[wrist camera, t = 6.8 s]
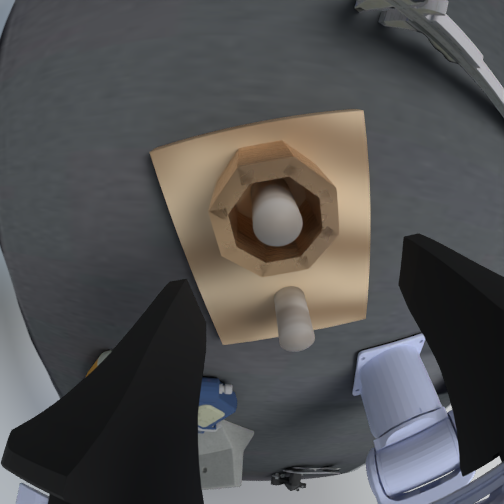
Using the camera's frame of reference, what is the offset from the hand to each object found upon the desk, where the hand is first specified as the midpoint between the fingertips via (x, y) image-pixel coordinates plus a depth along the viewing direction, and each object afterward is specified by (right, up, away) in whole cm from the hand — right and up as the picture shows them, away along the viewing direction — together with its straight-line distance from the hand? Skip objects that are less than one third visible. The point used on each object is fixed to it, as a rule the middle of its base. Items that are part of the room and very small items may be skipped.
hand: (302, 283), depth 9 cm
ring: (-1, +4, +7) cm, 8 cm away
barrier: (-14, -31, +31) cm, 46 cm away
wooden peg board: (0, +2, +10) cm, 10 cm away
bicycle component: (+11, -53, +45) cm, 71 cm away
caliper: (+14, +13, +4) cm, 20 cm away
